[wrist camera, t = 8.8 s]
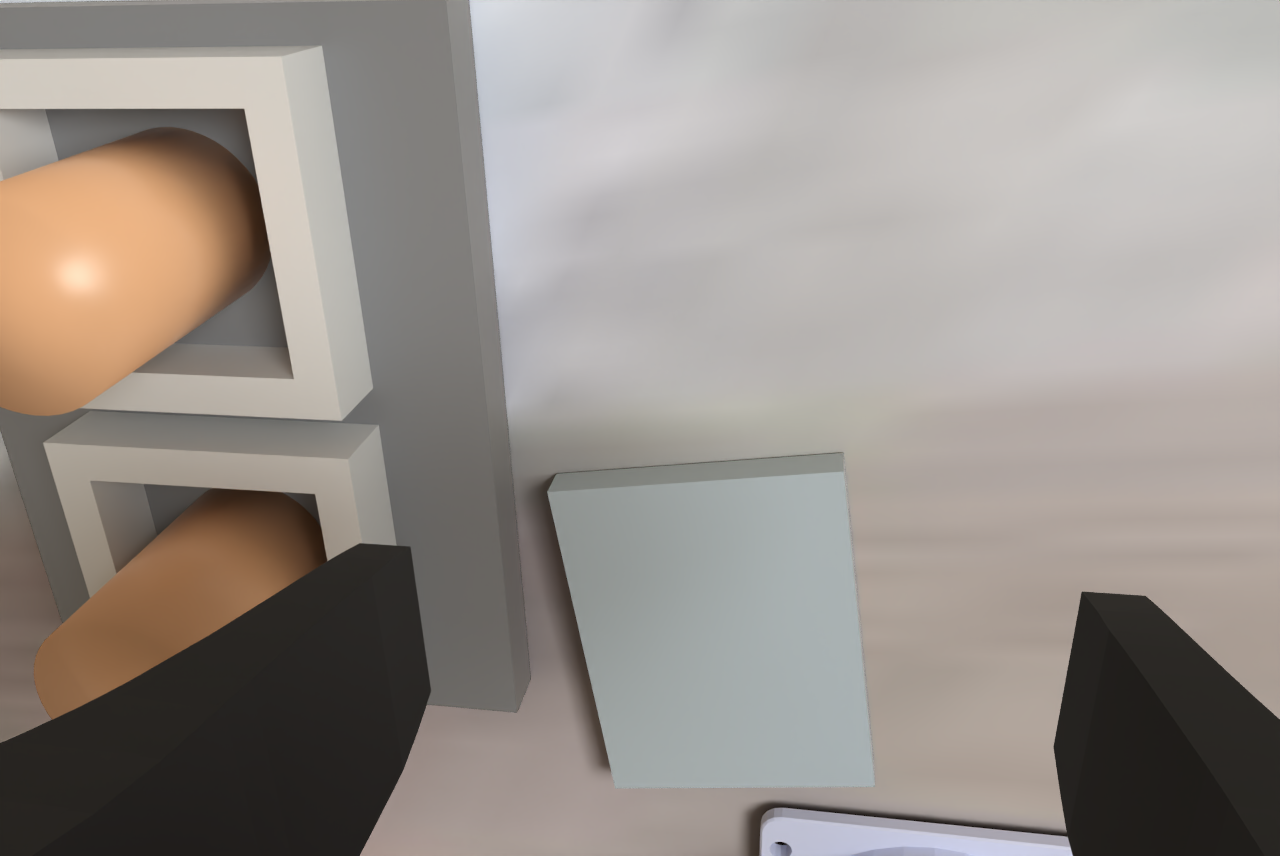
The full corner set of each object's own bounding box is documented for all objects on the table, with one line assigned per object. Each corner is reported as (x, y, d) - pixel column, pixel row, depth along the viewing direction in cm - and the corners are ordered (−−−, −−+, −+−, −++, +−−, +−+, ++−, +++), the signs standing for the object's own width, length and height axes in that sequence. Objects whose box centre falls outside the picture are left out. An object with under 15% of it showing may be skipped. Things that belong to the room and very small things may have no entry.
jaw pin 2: (344, 620, 24) (231, 783, 19) (204, 608, 24) (62, 765, 20) (320, 486, 22) (191, 630, 18) (171, 477, 23) (11, 614, 18)
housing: (530, 678, 25) (499, 759, 23) (107, 642, 27) (36, 713, 25) (468, -7, 19) (414, 6, 16) (-84, 4, 20) (-207, 17, 18)
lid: (873, 761, 25) (874, 787, 24) (621, 764, 26) (614, 788, 25) (843, 452, 21) (843, 471, 21) (556, 474, 23) (546, 492, 22)
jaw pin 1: (284, 310, 21) (137, 424, 16) (122, 298, 21) (-64, 406, 17) (258, 130, 19) (87, 203, 15) (83, 123, 20) (-133, 190, 15)
